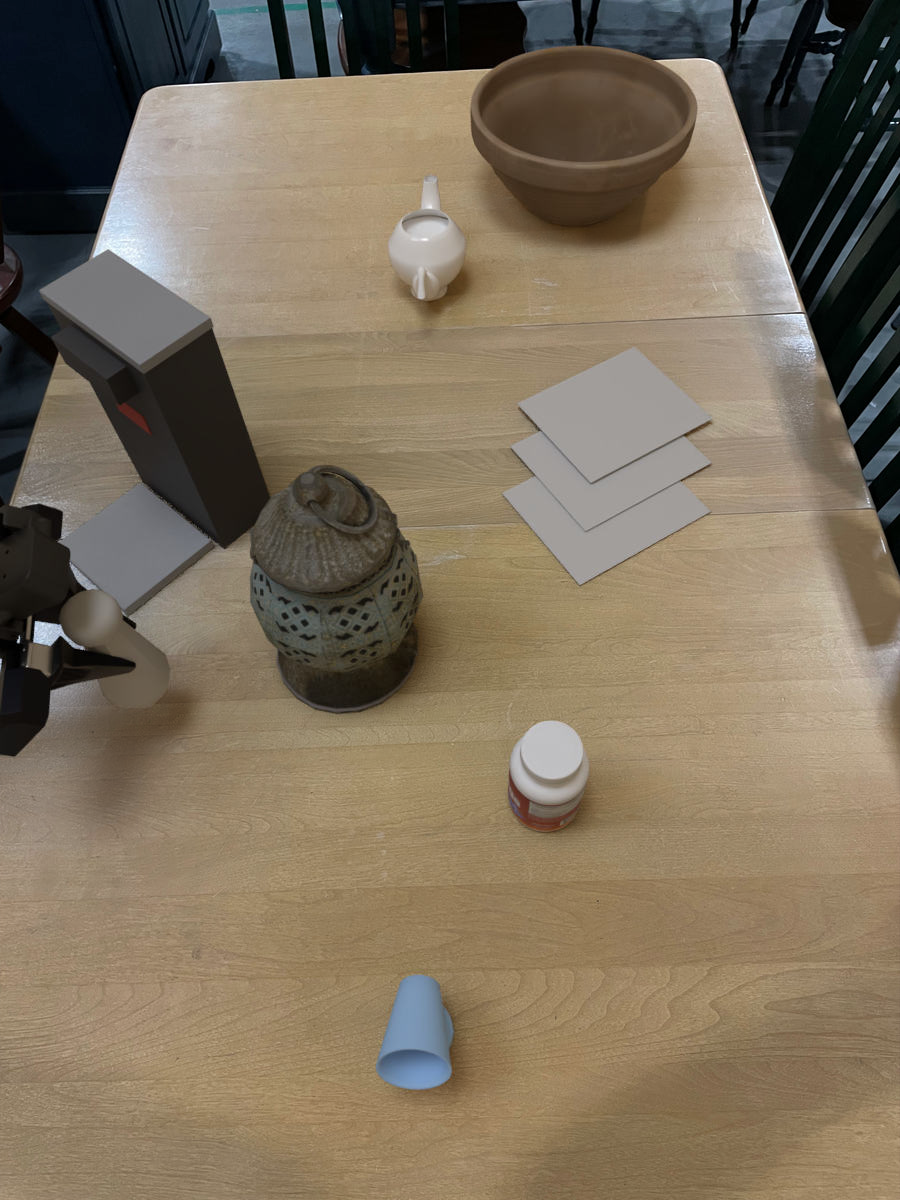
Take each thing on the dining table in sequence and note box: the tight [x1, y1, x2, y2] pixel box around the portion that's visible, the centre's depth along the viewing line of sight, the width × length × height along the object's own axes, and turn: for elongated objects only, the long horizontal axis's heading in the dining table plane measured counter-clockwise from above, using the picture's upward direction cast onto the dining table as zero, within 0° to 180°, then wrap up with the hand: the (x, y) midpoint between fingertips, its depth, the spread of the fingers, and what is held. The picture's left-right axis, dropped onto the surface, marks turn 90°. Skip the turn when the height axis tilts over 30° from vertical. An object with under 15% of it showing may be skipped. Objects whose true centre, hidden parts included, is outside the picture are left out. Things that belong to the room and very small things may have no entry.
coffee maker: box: [38, 248, 272, 617], centre depth 79 cm, size 19×14×25 cm
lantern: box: [249, 464, 424, 715], centre depth 70 cm, size 14×14×25 cm
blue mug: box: [375, 974, 455, 1091], centre depth 59 cm, size 5×10×7 cm
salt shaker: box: [59, 588, 172, 709], centre depth 67 cm, size 6×6×13 cm
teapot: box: [387, 174, 467, 302], centre depth 104 cm, size 10×20×9 cm, turn 177°
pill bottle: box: [507, 720, 590, 833], centre depth 68 cm, size 6×6×11 cm
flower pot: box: [469, 45, 698, 227], centre depth 112 cm, size 28×28×13 cm
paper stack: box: [501, 346, 714, 586], centre depth 92 cm, size 23×25×1 cm
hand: (134, 648), depth 67 cm, fingers closed on salt shaker, 3 cm apart
